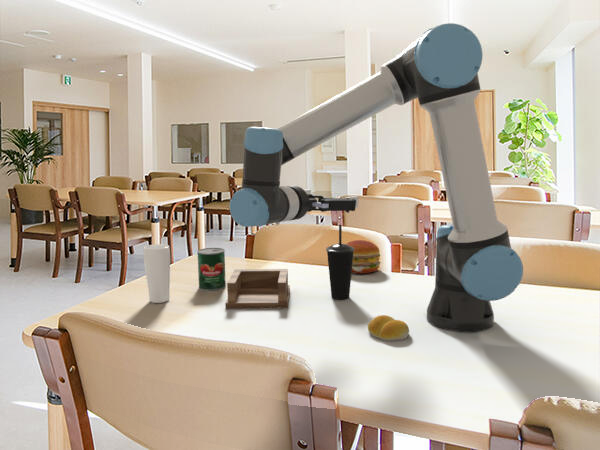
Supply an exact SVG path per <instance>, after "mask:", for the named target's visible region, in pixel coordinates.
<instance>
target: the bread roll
mask: <svg viewBox="0 0 600 450" xmlns="http://www.w3.org/2000/svg"><path fill="white" fill-rule="evenodd" d="M367 330H368V333H369V334H370V335H371V336H373V337H375V338H377V339H378V338H379V339H380V340H382V341H386V342H394V341H396V342H397V341H402V340H406V339H407V337H408V336H409V333H410V329H409V326H408V324H407V323H406V322H405V321H403V320H399V319H394V317H392V316H390V315H386V314H385V315H384V314H381V315H377V316H375V317H374V318H373V319H372V320H370V322H369V323H368V324H367Z"/></svg>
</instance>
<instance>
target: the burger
mask: <svg viewBox="0 0 600 450" xmlns="http://www.w3.org/2000/svg"><path fill="white" fill-rule="evenodd" d="M346 244H347V245H349V246H351V247H354V249H355V250H354V251H353V262H352V273H351V274H369V273H373V272H376V271H378V269H379V268H380V264H381V263H382V262H381V261H380V257H381V254H380V251H381V250H380V248H379V247H378V246H377V244H375V243H373V242H371V241H369V240H363V239H358V240H351V241H349V242H347V243H346Z"/></svg>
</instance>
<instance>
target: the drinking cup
mask: <svg viewBox="0 0 600 450" xmlns="http://www.w3.org/2000/svg"><path fill="white" fill-rule="evenodd" d="M342 232H343V231H342V224H338V243H333V244H332V245H330V246H327V247H326V248H325V250H326V253H327V264H328V275H329V283H330V285H329V286H330V297H331V299H333V300H335V301H336V300H338V301H344V300H348V299H350V293H351V292H350V291H351V283H352V274H353V273H352V262H353V251H354V250H355V249H354V247H351V246H349V245H347V243H342V235H343V233H342Z"/></svg>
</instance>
